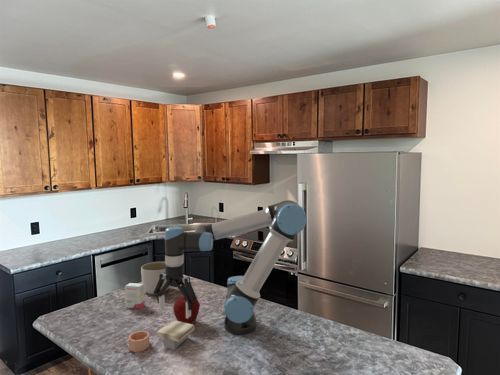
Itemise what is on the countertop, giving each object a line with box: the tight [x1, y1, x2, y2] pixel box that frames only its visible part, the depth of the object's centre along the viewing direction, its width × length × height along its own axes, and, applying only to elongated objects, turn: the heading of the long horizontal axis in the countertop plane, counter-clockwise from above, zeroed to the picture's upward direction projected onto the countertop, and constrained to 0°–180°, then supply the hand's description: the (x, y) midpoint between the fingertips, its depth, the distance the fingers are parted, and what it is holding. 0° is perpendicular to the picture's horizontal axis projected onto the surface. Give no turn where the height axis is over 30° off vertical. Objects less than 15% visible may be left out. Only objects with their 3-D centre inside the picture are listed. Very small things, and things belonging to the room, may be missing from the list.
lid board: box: [156, 319, 195, 342], centre depth 142 cm, size 11×11×2 cm
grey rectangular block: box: [163, 334, 189, 350], centre depth 142 cm, size 5×10×4 cm, turn 156°
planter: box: [140, 261, 171, 295], centre depth 197 cm, size 17×17×15 cm
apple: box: [172, 296, 201, 324], centre depth 158 cm, size 12×12×13 cm
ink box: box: [124, 282, 145, 310], centre depth 177 cm, size 9×5×12 cm, turn 80°
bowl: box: [128, 330, 151, 353], centre depth 139 cm, size 8×8×4 cm
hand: (174, 313), depth 142 cm, fingers open, 13 cm apart
